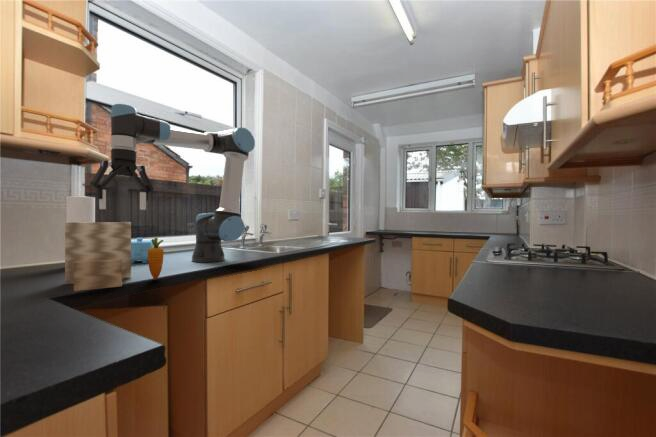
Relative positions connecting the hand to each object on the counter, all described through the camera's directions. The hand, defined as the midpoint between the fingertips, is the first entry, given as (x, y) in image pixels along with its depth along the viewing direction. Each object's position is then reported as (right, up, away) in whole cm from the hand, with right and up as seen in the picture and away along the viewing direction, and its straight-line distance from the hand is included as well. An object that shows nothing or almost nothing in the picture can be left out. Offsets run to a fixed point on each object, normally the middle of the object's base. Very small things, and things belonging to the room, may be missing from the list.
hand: (123, 209), depth 111 cm
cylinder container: (-32, -24, +21) cm, 45 cm away
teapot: (-16, -24, +35) cm, 45 cm away
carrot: (+12, -25, -2) cm, 28 cm away
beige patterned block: (-2, -25, -9) cm, 26 cm away
